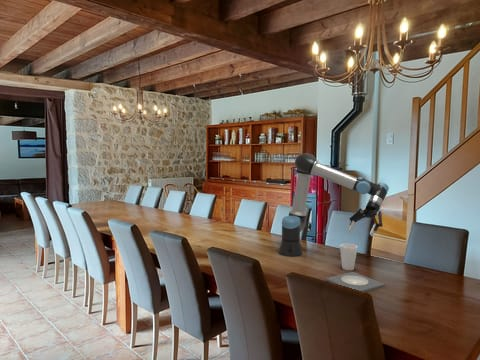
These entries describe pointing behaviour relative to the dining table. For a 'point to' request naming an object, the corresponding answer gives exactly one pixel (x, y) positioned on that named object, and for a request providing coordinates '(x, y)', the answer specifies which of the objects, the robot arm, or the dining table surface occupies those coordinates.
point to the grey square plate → (355, 281)
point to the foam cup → (348, 256)
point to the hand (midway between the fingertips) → (360, 233)
